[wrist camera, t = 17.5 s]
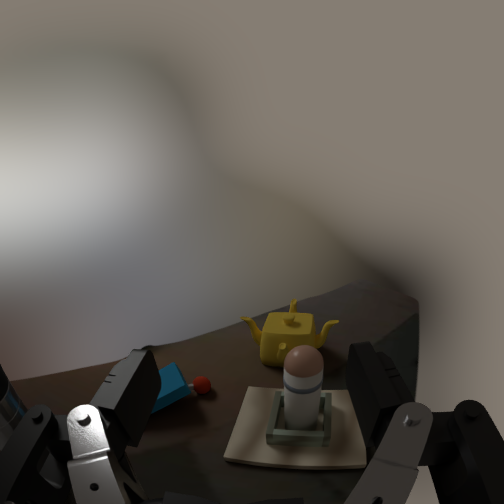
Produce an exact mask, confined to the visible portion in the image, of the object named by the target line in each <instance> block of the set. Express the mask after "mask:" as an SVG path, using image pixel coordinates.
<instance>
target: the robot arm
mask: <svg viewBox="0 0 504 504" xmlns="http://www.w3.org/2000/svg"><path fill="white" fill-rule="evenodd" d="M161 385H162V382H161V376H160V374H159V371H158V368H157V365H156V362H155V359H154V356H153V353H152V352H151V351H150V350H140V349H133V350H132V351H131V353H130V354H129V356H128V357H127V359H126V360H122V361H120V362H119V363H118V364H116V365H115V366H114V367H113V369H112V370H111V372H110V373H109V376H107V378H106V379H105V382H103V384H102V385H101V387H100V388H99V390H98V391H97V393H96V394H95V396H94V398H93V399H92V401H91V402H90V404H89V405H81V406H78V407H76V408H74V409H73V410H72V411H71V412H70V413H69V415H54V414H53V413H52V411H51V410H50V408H49V407H47V406H46V405H36V406H33V407H31V408H30V409H29V410H28V409H27V408H26V406H25V405H24V403H23V402H22V400H21V399H20V397H19V396H18V394H17V393H16V391H15V390H14V388H13V386H12V385H11V383H10V381H9V380H8V378H7V376H6V374H5V373H4V371H3V369H2V367H1V364H0V450H1V452H0V504H64V503H65V501H66V498H67V496H68V493H69V491H70V488H71V486H72V488H73V492H74V496H75V500H76V503H77V504H220V503H217V502H213V501H210V500H207V499H204V498H201V497H198V496H191V495H184V494H178V493H172V492H167V491H165V494H164V498H159V499H152V500H150V499H149V498H148V496H147V495H146V493H145V492H144V491H143V489H142V487H141V485H140V483H139V481H138V479H137V477H136V475H135V472H134V470H133V468H132V466H131V463H130V461H129V458H128V456H127V454H126V452H125V448H126V446H127V445H128V446H133V447H138V444H139V442H140V439H141V437H142V434H143V432H144V429H145V427H146V424H147V422H148V420H149V417H150V415H151V412H152V410H153V408H154V405H155V403H156V400H157V398H158V396H159V393H160V391H161ZM346 385H347V389H348V392H349V395H350V398H351V401H352V404H353V408H354V411H355V414H356V417H357V420H358V424H359V427H360V430H361V434H362V437H363V440H364V444H365V447H366V448H368V447H372V446H375V448H376V453H375V454H374V456H373V458H372V459H371V461H370V463H369V465H368V466H367V468H366V470H365V471H364V473H363V475H362V477H361V478H360V480H359V481H358V483H357V485H356V486H355V488H354V489H353V491H352V492H351V494H350V495H349V497H348V498H347V500H346V501H345V503H344V504H405V503H406V500H407V498H408V496H409V494H410V492H411V489H412V487H413V485H414V483H415V480H416V478H417V475H418V471H419V470H418V469H417V466H428V467H429V470H430V474H431V477H432V480H433V483H434V487H435V490H436V493H437V497H438V500H439V504H504V440H503V438H502V437H501V435H500V433H499V431H498V430H497V428H496V426H495V424H494V422H493V421H492V419H491V417H490V416H489V414H488V412H487V410H486V409H485V408H484V406H483V405H482V404H481V403H479V402H477V401H474V400H465V401H462V402H460V403H459V404H458V405H457V406H456V408H455V409H454V411H452V412H431V410H430V409H429V408H428V407H427V406H425V405H423V404H421V403H417V402H415V401H414V399H413V397H412V395H411V393H410V391H409V390H408V388H407V386H406V384H405V382H404V380H403V379H402V377H401V376H400V373H399V372H398V370H397V369H396V366H395V365H394V363H393V361H392V359H391V358H390V357H388V356H387V355H386V354H384V353H383V352H377V353H376V352H375V351H374V349H373V347H372V345H371V343H370V342H361V343H354V344H351V345H350V347H349V354H348V361H347V368H346ZM249 504H304V503H303V498H292V499H274V500H264V501H260V502H255V503H249Z"/></svg>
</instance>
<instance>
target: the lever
mask: <svg viewBox="0 0 504 504" xmlns="http://www.w3.org/2000/svg"><path fill="white" fill-rule="evenodd" d="M159 374H160V376H161V382H162V385H161V391H160V393H159V396H158V398H157V400H156V403H155V405H154V408H153V410H152V412H151V414H152V413H154V412H156V411H158V410H160V409H162V408H164V407H166V406H168V405H170V404H171V403H173V402H175V401H177V400H179V399H181V398H183V397H184V396H186V395H188V394H190V393H191V390H195V391H196V392H197V393H199V394H205V393H207V392H208V391H209V390H210V388H211V384H210V381H209V380H208V379H207V378H206V377H202V376H201V377H197V378H195V379H194V381H193V384H189V385H187V383H186V381H185V379H184V377H183V375H182V373H181V371H180V369H179V368H178V367H177V365H176V364H175V362H173V363H171V364H170V365H168V366H166V367H164V368H162V369H161V370H159Z"/></svg>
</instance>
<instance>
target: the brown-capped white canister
mask: <svg viewBox="0 0 504 504" xmlns="http://www.w3.org/2000/svg"><path fill="white" fill-rule="evenodd" d="M323 367H324V361H323V357H322V355H321V353H320V352H319V351H318V350H317V349H316V348H314V347H312V346H308V345H301V346H297V347H295V348H293V349H292V350H291V351H290V352H289V353H288V354H287V356H286V358H285V360H284V375H283V383H284V426H285V430H299V431H315V429H316V427H317V420H318V412H319V405H320V396H321V387H322V383H323Z"/></svg>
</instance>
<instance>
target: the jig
mask: <svg viewBox="0 0 504 504" xmlns="http://www.w3.org/2000/svg"><path fill="white" fill-rule="evenodd" d="M224 460H225V461H230V462H236V463H243V464H250V465H257V466H266V467H276V468H289V469H316V470H329V469H355V468H365V466H366V464H367V463H366V447H365V444H364V440H363V437H362V434H361V430H360V427H359V424H358V420H357V417H356V414H355V411H354V408H353V404H352V401H351V398H350V395H349V392H348V390H321V396H320V405H319V412H318V420H317V427H316V429H315V431H299V430H285V426H284V389H274V388H261V387H248V390H247V392H246V395H245V398H244V401H243V404H242V407H241V410H240V413H239V416H238V418H237V421H236V424H235V427H234V430H233V432H232V435H231V438H230V441H229V443H228V446H227V449H226V451H225V454H224Z"/></svg>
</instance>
